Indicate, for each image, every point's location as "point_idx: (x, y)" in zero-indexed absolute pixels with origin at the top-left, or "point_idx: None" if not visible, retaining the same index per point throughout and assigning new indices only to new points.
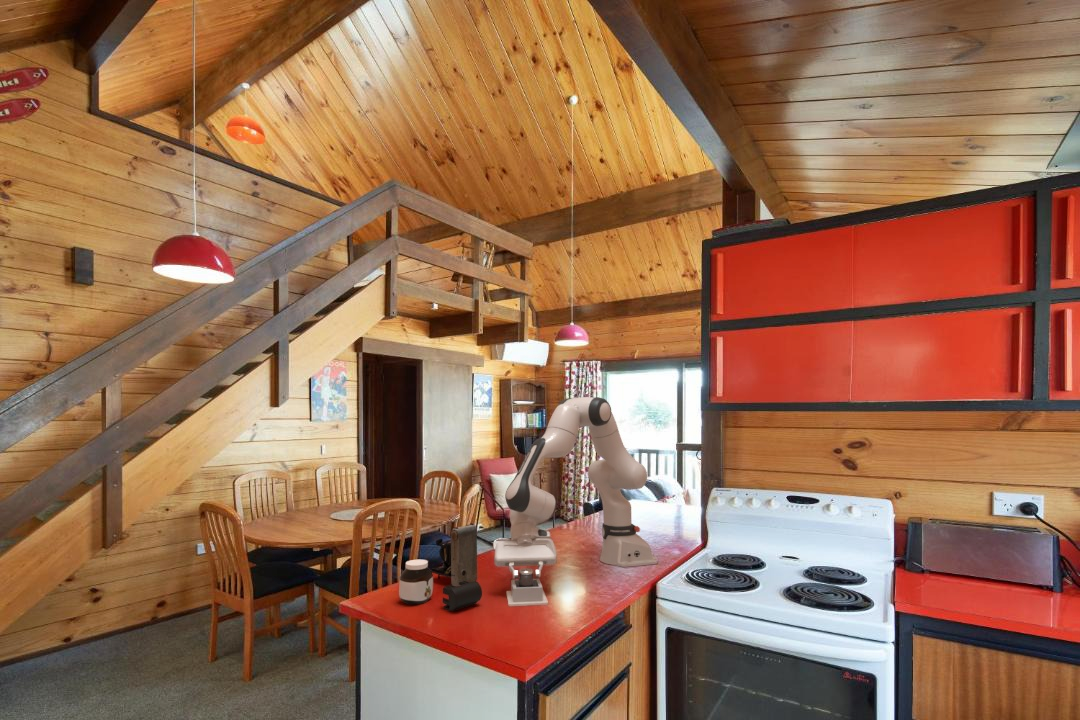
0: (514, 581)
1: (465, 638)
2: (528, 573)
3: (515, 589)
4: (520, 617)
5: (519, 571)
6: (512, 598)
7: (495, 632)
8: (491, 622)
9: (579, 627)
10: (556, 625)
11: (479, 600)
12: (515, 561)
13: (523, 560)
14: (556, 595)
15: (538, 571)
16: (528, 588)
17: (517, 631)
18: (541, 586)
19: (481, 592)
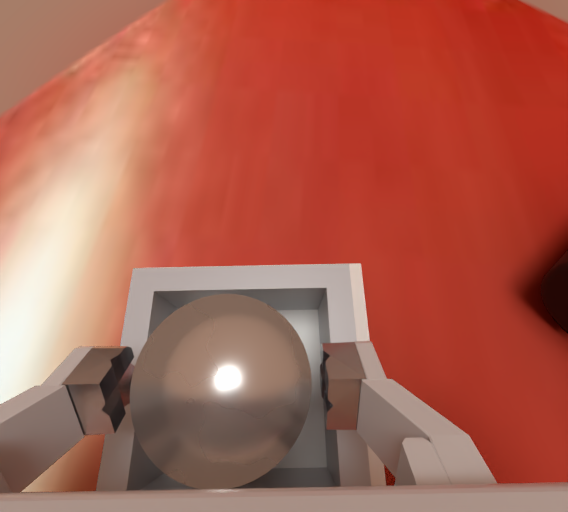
0: (342, 457)
1: (484, 15)
2: (208, 299)
3: (332, 266)
4: (302, 141)
5: (305, 352)
6: None
7: (393, 41)
8: (419, 108)
9: (101, 53)
10: (175, 70)
11: (541, 294)
12: (387, 493)
13: (227, 491)
14: None
15: (76, 369)
16: (237, 267)
17: (318, 42)
18: (133, 294)
19: (566, 260)
